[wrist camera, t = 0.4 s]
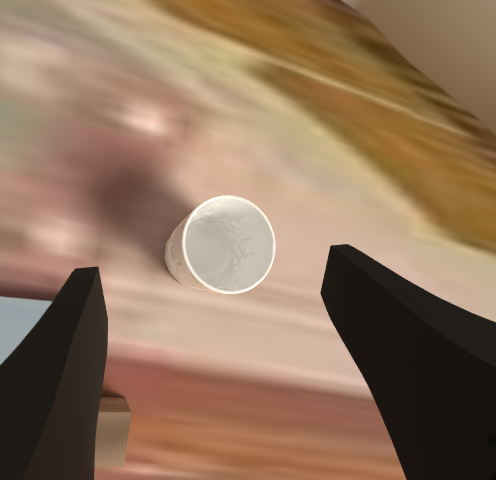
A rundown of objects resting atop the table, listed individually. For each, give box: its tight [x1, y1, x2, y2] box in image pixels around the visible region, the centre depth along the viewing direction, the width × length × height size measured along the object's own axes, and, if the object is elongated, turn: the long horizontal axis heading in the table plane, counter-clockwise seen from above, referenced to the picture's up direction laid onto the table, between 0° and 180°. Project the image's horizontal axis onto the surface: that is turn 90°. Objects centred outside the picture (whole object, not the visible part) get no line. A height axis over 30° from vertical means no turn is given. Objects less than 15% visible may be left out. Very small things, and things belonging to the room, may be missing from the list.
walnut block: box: [94, 397, 132, 468], centre depth 33 cm, size 4×4×5 cm
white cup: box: [164, 195, 275, 294], centre depth 36 cm, size 8×8×10 cm
